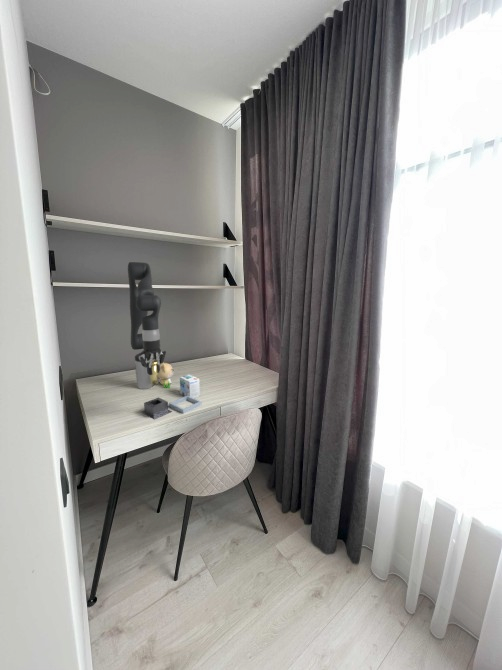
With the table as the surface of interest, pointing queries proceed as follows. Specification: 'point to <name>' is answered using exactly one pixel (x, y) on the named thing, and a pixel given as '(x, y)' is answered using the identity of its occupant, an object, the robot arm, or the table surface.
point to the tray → (197, 404)
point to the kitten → (165, 374)
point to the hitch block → (156, 408)
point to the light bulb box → (189, 386)
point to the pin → (154, 373)
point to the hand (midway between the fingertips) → (153, 373)
